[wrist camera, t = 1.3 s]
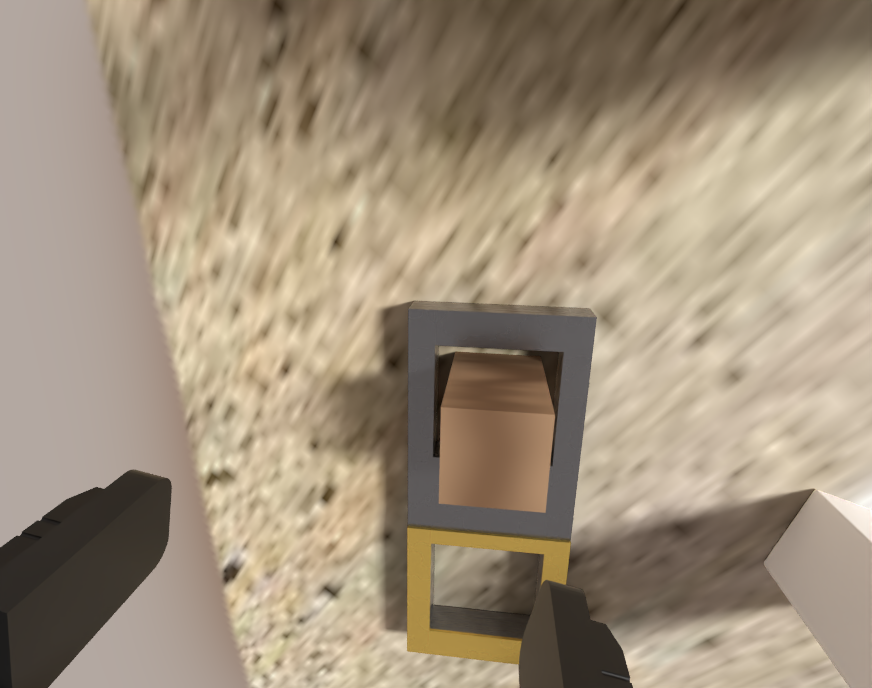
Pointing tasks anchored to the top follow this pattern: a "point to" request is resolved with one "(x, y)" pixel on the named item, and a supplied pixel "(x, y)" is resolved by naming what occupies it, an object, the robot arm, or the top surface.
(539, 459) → the block
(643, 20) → the top surface
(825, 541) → the milk
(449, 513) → the gray slotted board
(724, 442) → the top surface
